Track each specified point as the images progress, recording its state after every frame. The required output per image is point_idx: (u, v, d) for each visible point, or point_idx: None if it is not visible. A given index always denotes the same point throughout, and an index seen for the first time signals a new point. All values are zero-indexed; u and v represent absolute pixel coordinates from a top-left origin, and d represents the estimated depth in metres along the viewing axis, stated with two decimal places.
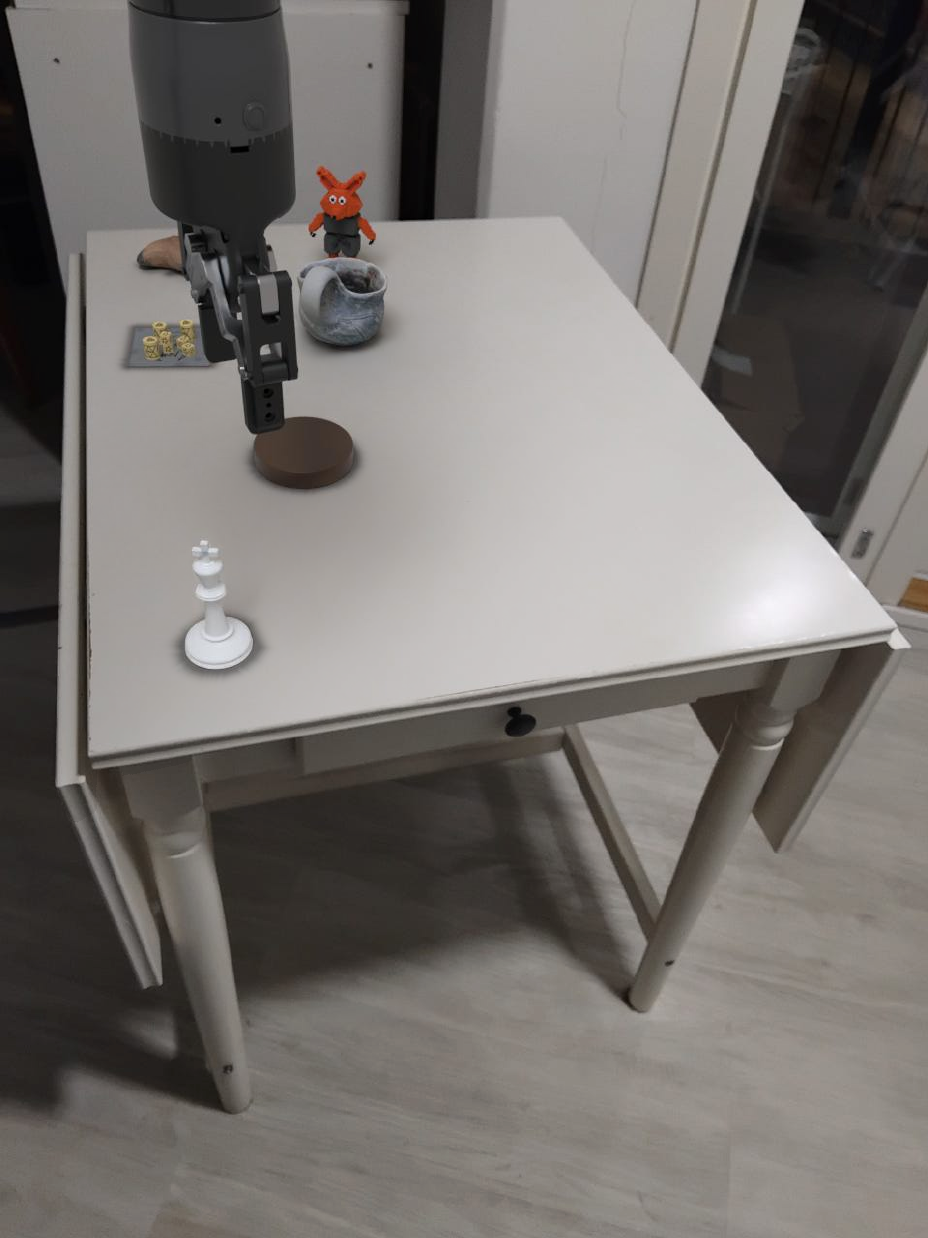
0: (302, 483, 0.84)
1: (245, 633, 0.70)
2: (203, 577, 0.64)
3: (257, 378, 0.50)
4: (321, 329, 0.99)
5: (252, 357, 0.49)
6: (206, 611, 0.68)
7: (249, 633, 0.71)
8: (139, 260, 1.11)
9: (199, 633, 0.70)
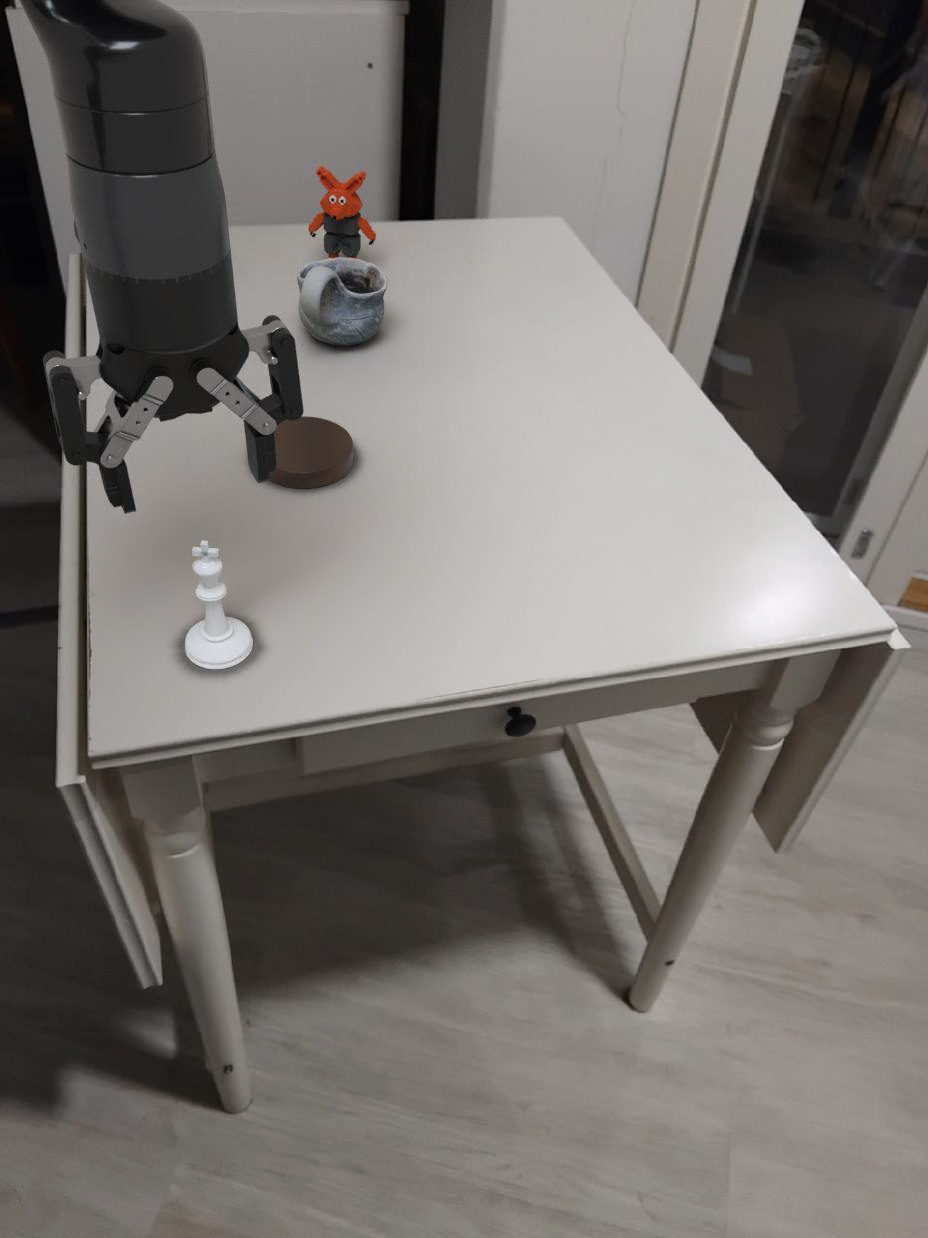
0: (302, 483, 0.84)
1: (245, 633, 0.70)
2: (203, 577, 0.64)
3: None
4: (321, 329, 0.99)
5: None
6: (206, 611, 0.68)
7: (249, 633, 0.71)
8: None
9: (199, 633, 0.70)
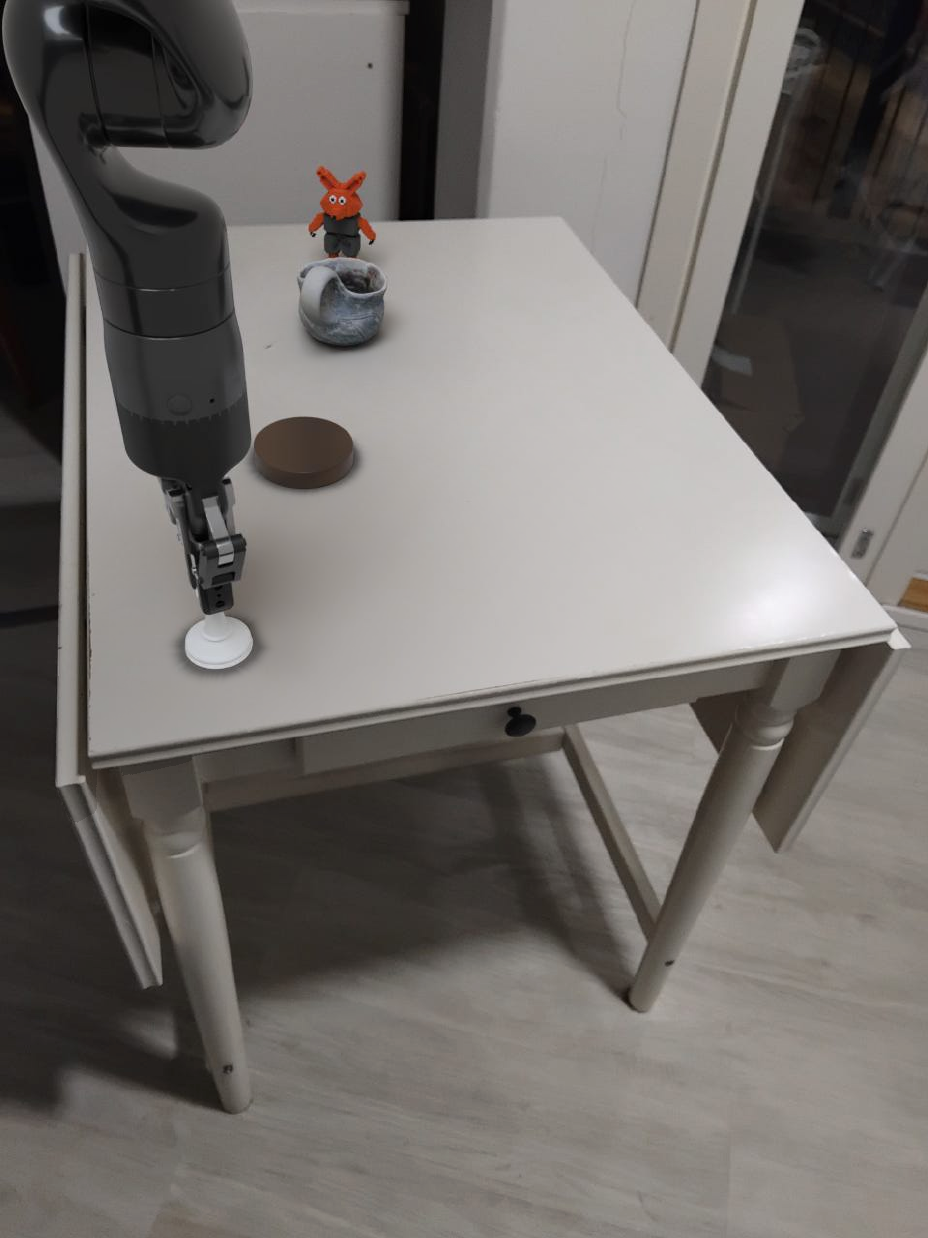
0: (302, 483, 0.84)
1: (245, 633, 0.70)
2: None
3: None
4: (321, 329, 0.99)
5: None
6: None
7: (249, 633, 0.71)
8: None
9: (199, 633, 0.70)
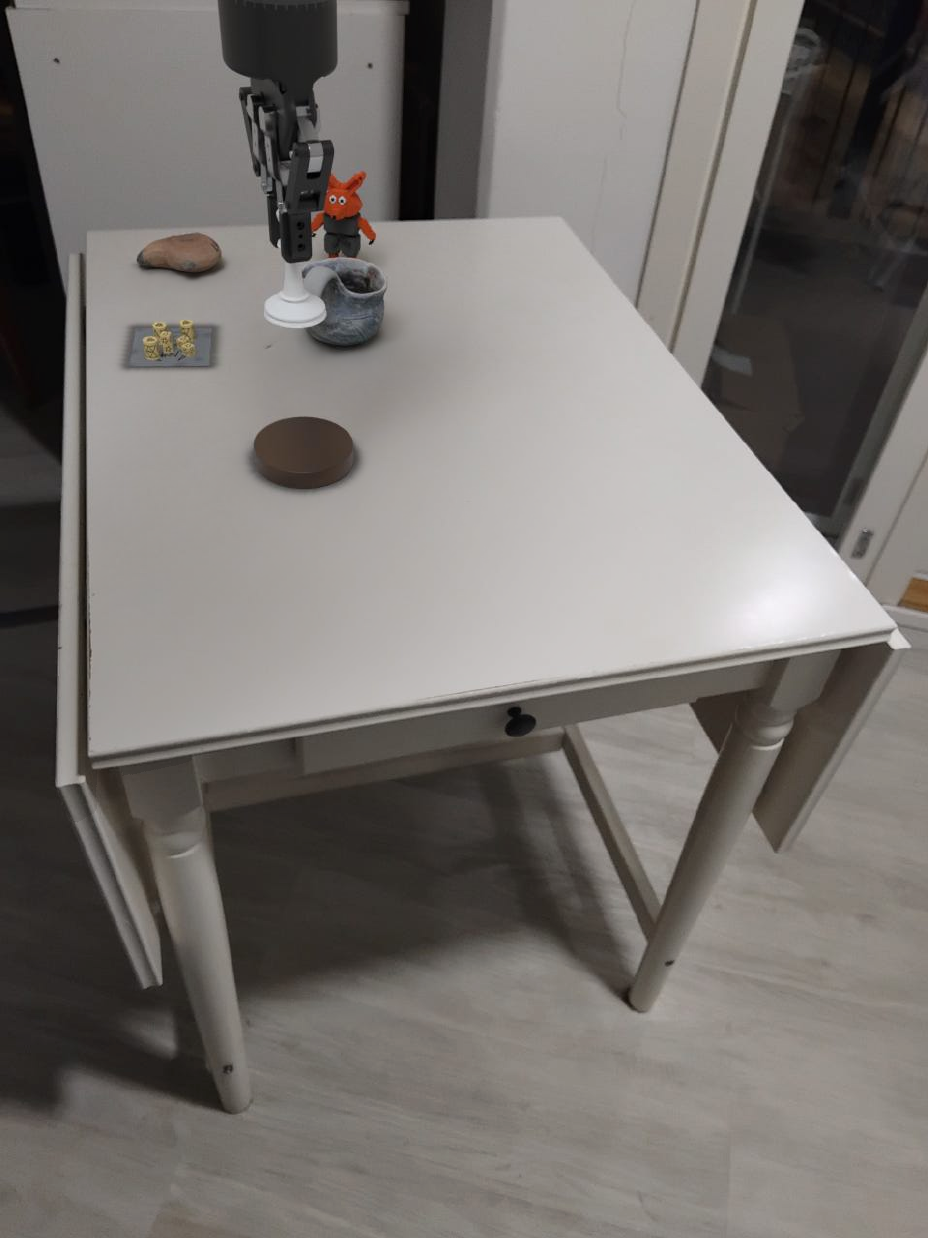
0: (302, 483, 0.84)
1: (319, 301, 0.75)
2: None
3: None
4: (321, 329, 0.99)
5: None
6: (286, 268, 0.72)
7: (323, 302, 0.75)
8: (139, 260, 1.11)
9: (277, 298, 0.74)
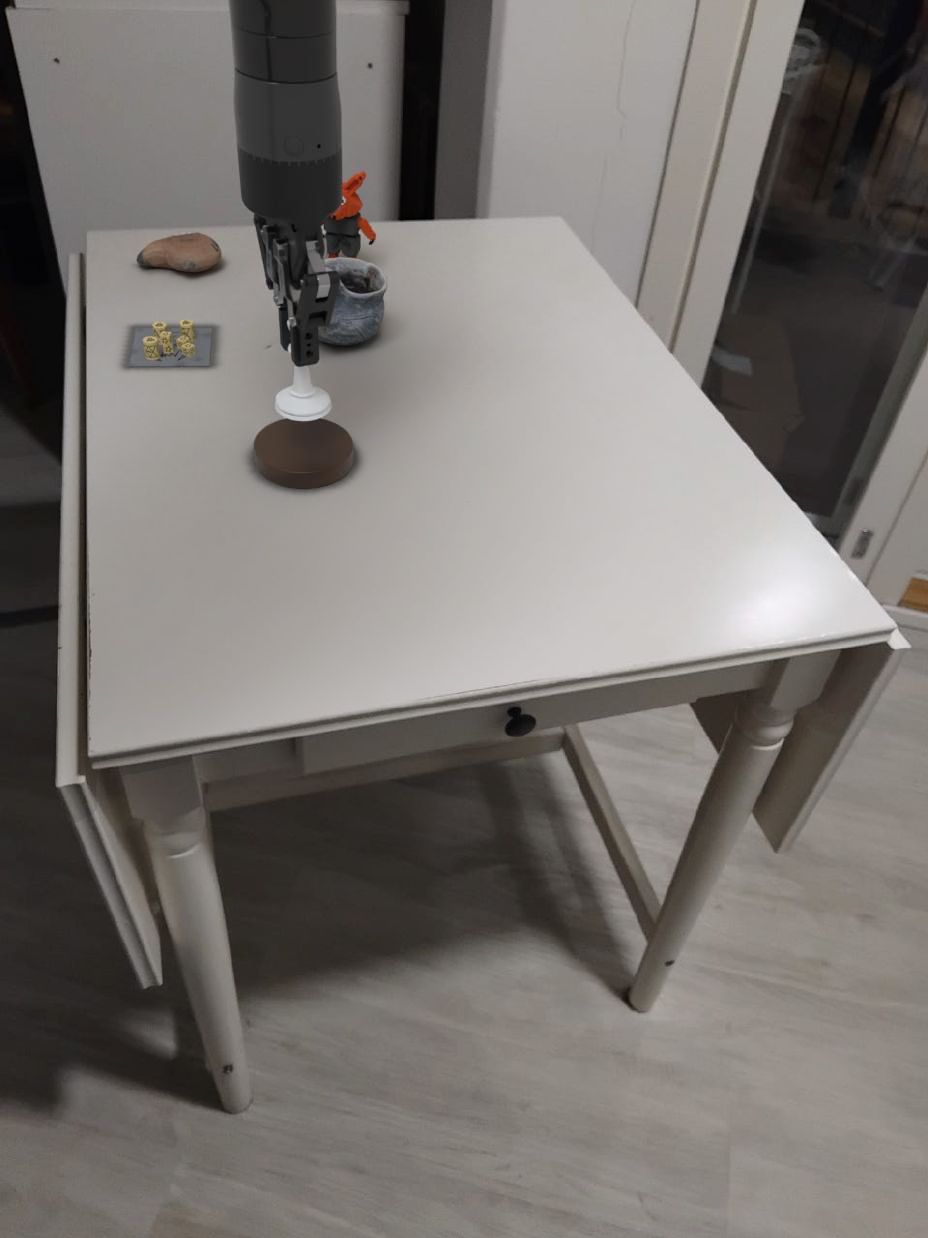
0: (302, 483, 0.84)
1: (325, 395, 0.84)
2: None
3: None
4: (321, 329, 0.99)
5: None
6: (295, 368, 0.81)
7: (328, 396, 0.84)
8: (139, 260, 1.11)
9: (287, 393, 0.83)
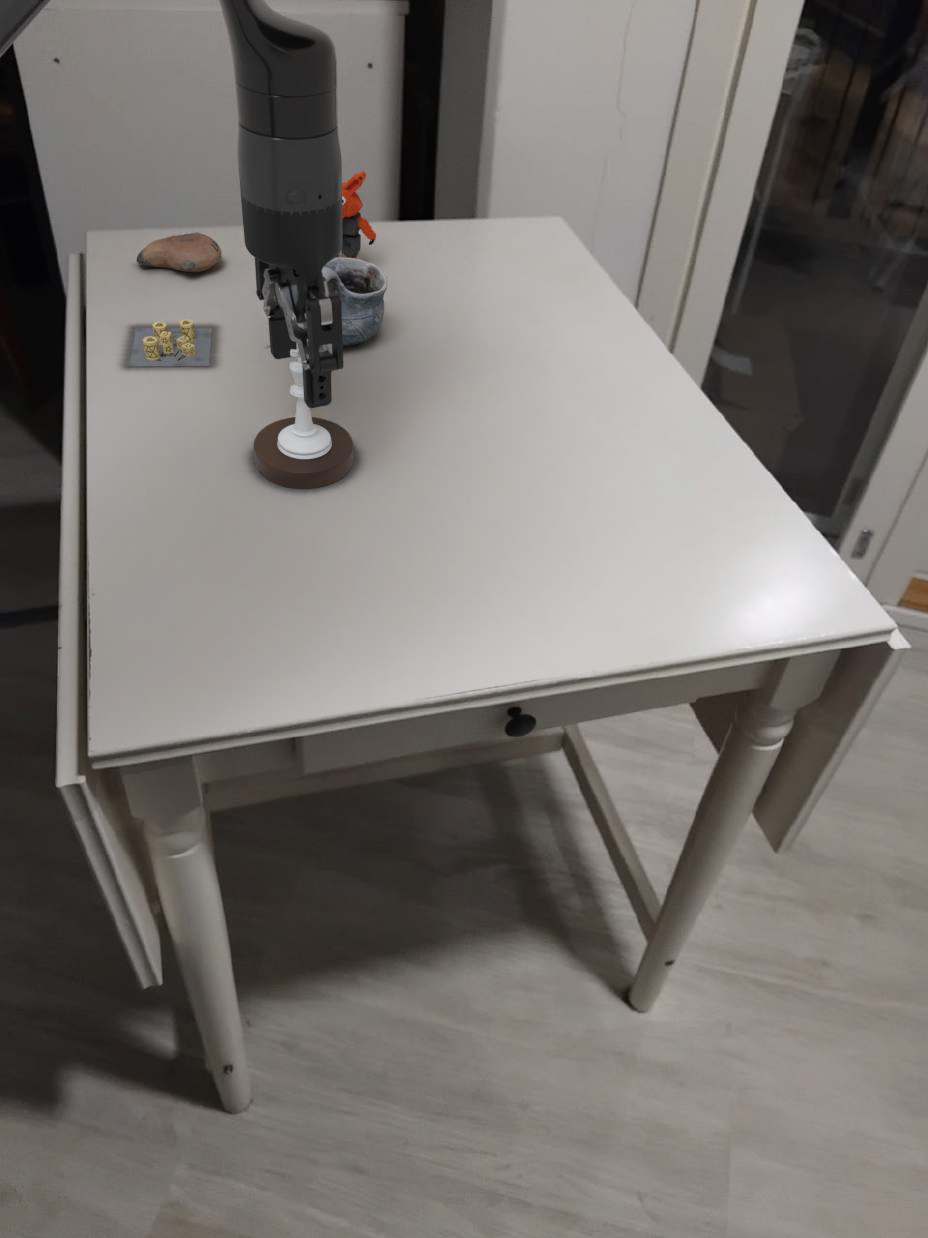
0: (302, 483, 0.84)
1: (326, 433, 0.86)
2: (298, 374, 0.80)
3: None
4: None
5: None
6: (297, 409, 0.84)
7: (329, 434, 0.87)
8: (139, 260, 1.11)
9: (289, 432, 0.86)
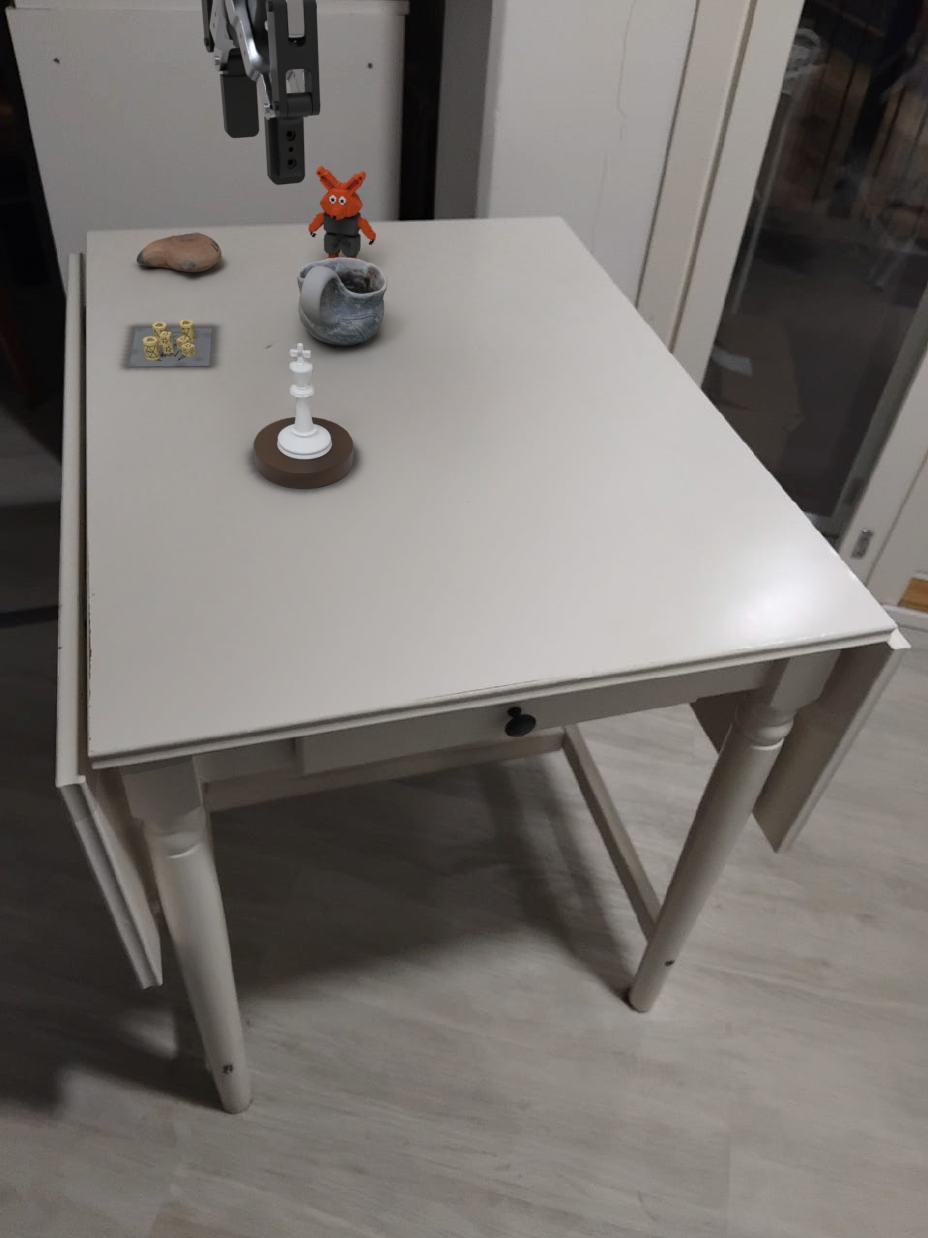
0: (302, 483, 0.84)
1: (326, 433, 0.86)
2: (298, 374, 0.80)
3: None
4: (321, 329, 0.99)
5: None
6: (297, 409, 0.84)
7: (329, 434, 0.87)
8: (139, 260, 1.11)
9: (289, 432, 0.86)
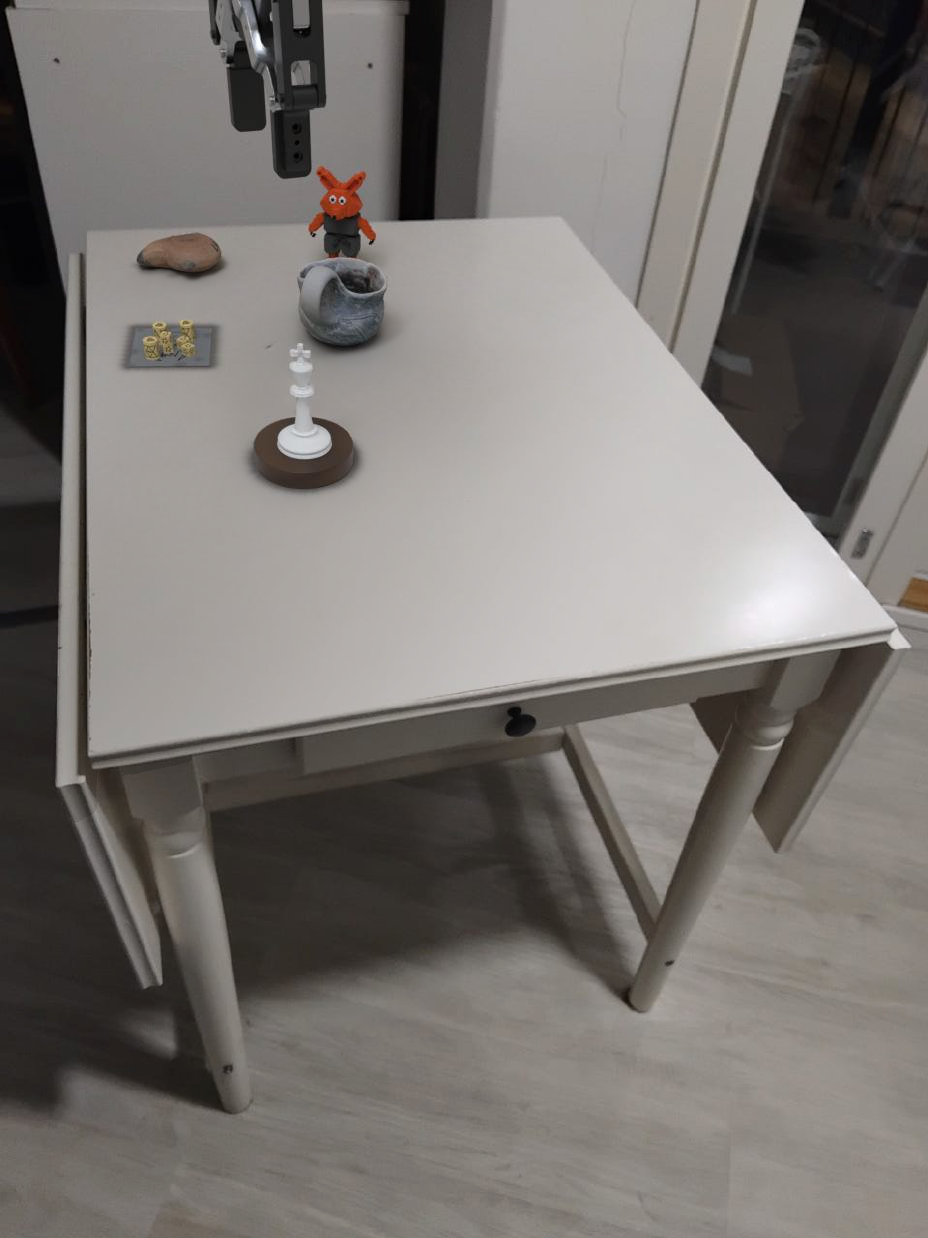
0: (302, 483, 0.84)
1: (326, 433, 0.86)
2: (298, 374, 0.80)
3: None
4: (321, 329, 0.99)
5: None
6: (297, 409, 0.84)
7: (329, 434, 0.87)
8: (139, 260, 1.11)
9: (289, 432, 0.86)
